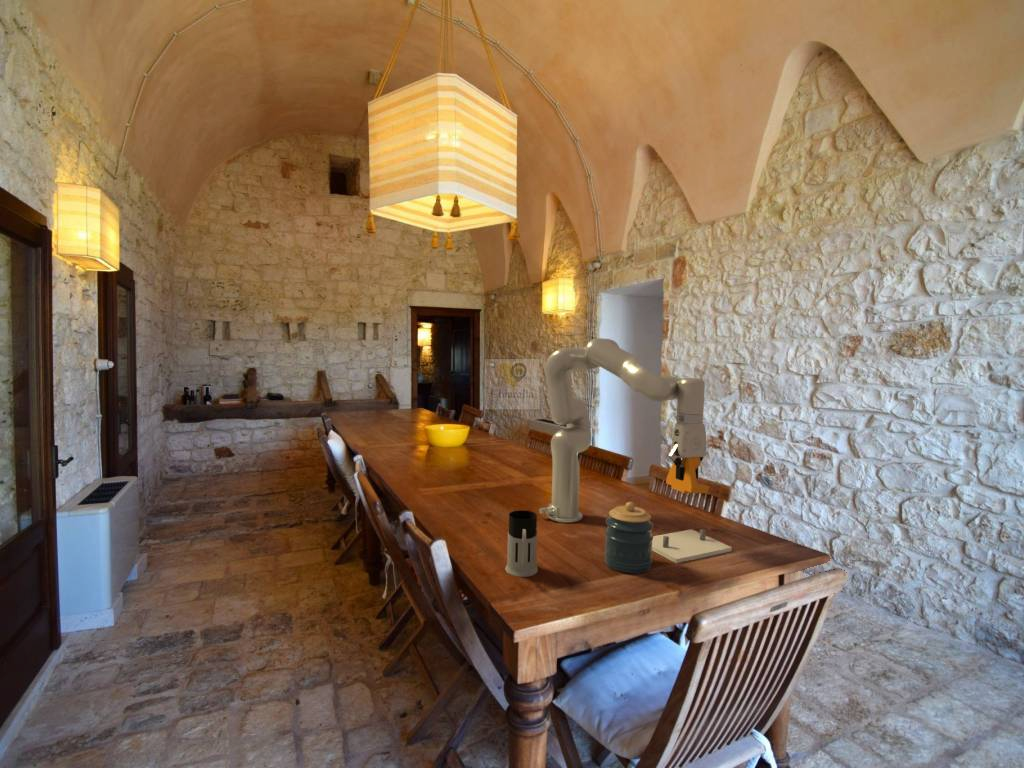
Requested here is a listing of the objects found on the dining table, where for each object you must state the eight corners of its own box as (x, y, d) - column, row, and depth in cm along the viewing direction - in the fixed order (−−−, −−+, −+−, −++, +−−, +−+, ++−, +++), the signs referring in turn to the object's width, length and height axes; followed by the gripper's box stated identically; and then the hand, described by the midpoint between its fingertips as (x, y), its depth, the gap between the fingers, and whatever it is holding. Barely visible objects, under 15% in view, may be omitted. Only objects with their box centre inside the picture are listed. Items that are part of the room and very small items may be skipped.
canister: (622, 578, 128) (625, 512, 127) (595, 558, 140) (597, 497, 139) (662, 570, 133) (664, 506, 132) (632, 551, 145) (634, 493, 144)
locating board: (676, 563, 138) (676, 548, 137) (638, 542, 152) (639, 529, 152) (731, 551, 147) (732, 537, 147) (691, 532, 161) (691, 520, 161)
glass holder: (536, 562, 136) (537, 509, 135) (541, 587, 122) (542, 528, 121) (505, 562, 136) (506, 509, 135) (506, 586, 122) (507, 527, 121)
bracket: (709, 496, 145) (714, 456, 145) (690, 495, 142) (696, 454, 142) (683, 486, 155) (688, 449, 155) (665, 485, 152) (670, 447, 152)
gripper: (677, 422, 140) (674, 484, 141) (720, 419, 147) (716, 479, 149) (659, 418, 147) (656, 478, 148) (700, 416, 154) (697, 473, 155)
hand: (686, 478), depth 148 cm, fingers closed on bracket, 4 cm apart
